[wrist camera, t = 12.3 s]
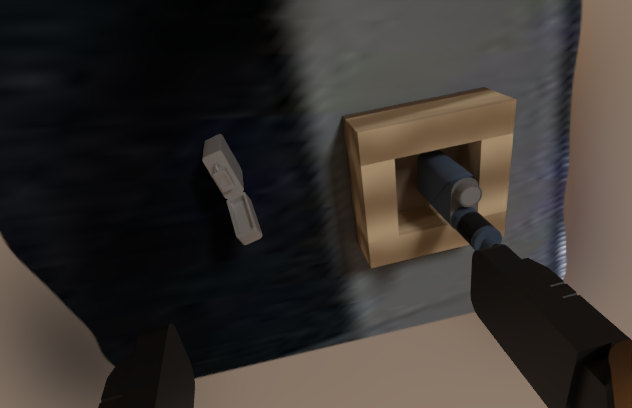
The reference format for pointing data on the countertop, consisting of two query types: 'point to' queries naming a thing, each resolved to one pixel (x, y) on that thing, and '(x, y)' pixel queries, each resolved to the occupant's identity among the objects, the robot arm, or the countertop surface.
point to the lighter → (231, 188)
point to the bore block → (401, 169)
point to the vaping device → (455, 198)
